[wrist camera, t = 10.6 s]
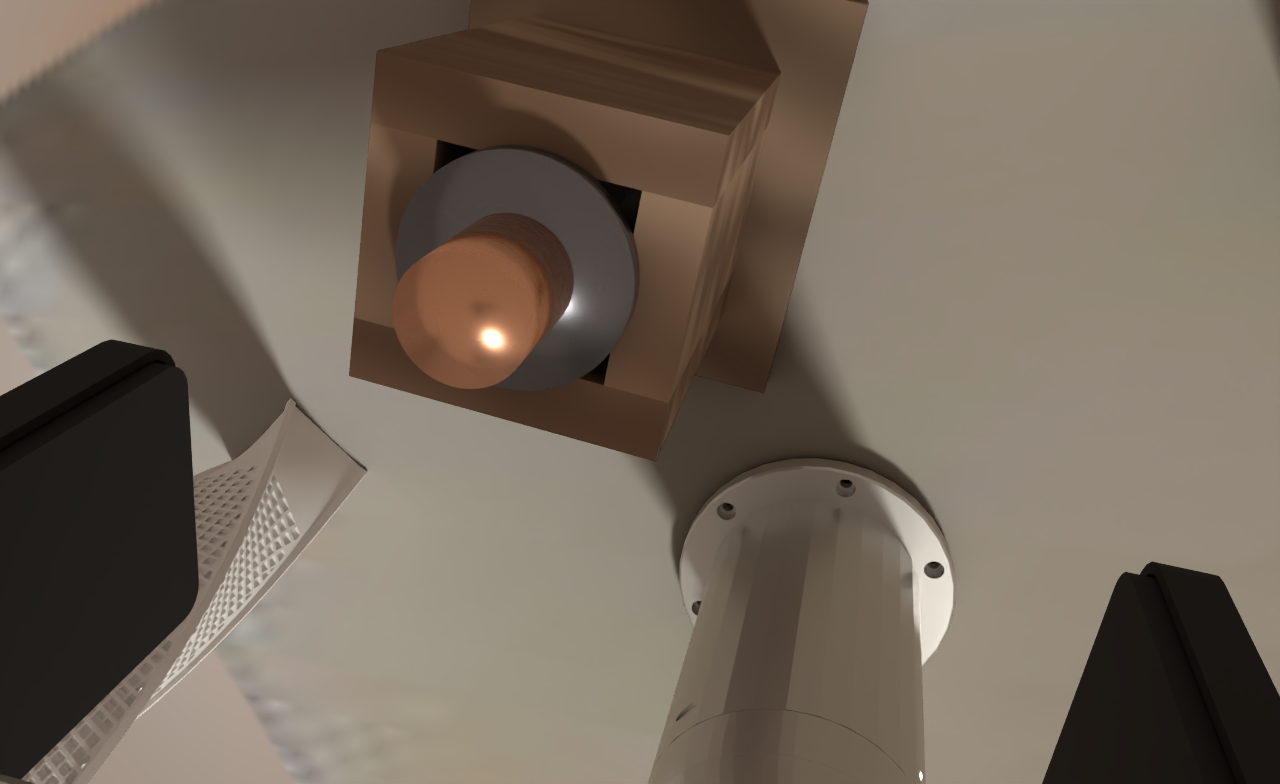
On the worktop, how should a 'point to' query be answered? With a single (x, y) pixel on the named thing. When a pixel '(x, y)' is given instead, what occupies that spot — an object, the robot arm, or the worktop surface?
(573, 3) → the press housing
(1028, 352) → the worktop surface
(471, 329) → the plunger
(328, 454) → the skyscraper
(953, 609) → the robot arm
